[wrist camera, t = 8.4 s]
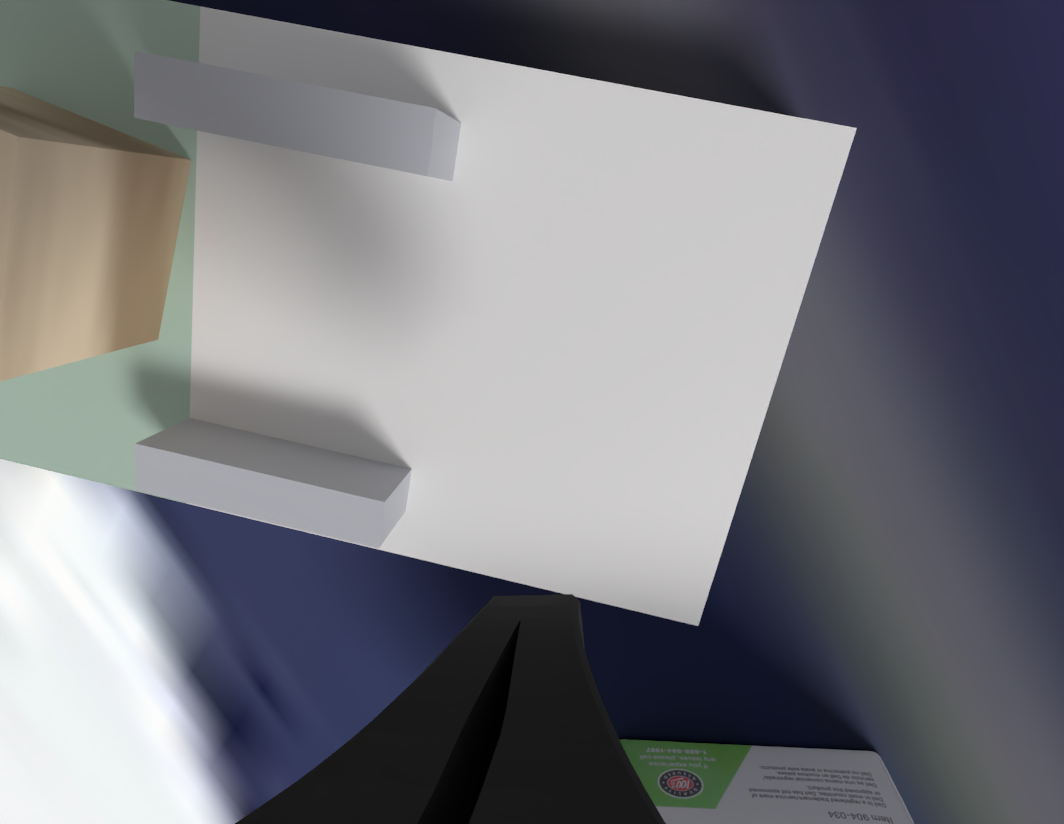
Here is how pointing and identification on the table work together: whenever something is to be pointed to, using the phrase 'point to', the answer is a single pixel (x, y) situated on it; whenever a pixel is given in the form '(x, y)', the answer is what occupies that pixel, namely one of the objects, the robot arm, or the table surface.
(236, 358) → the channel deck
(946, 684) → the table surface
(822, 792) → the ink box
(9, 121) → the maple block
